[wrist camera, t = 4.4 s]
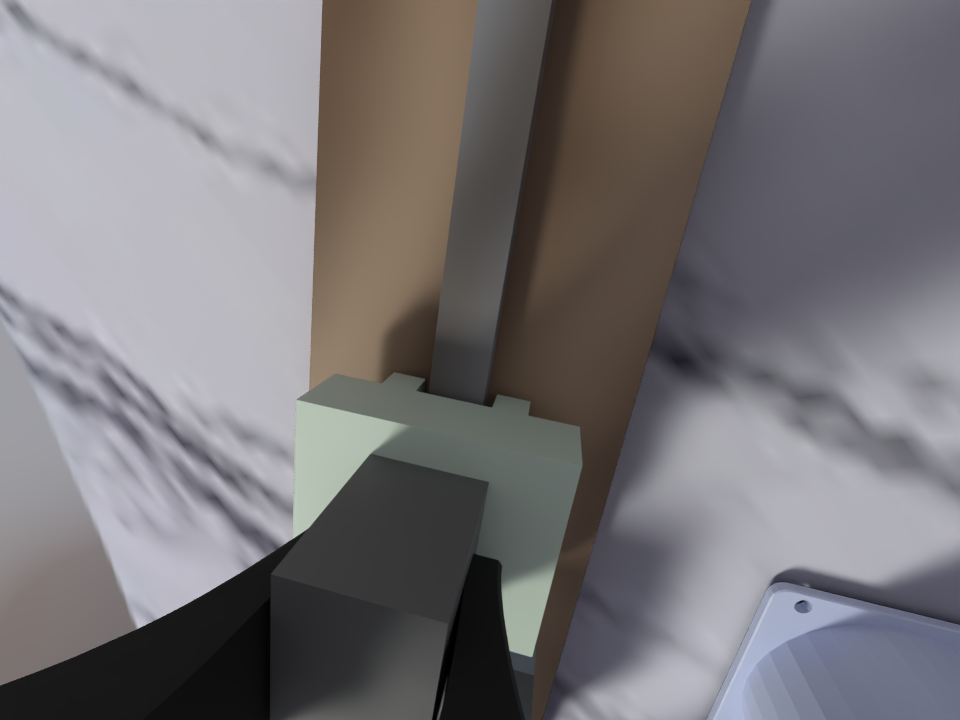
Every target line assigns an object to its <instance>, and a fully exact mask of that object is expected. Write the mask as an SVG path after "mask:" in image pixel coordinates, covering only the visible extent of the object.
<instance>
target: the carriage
mask: <svg viewBox="0 0 960 720" xmlns="http://www.w3.org/2000/svg"><path fill="white" fill-rule="evenodd" d="M425 381H426V379H423V378H419V377H414V376H409V375H405V374H400V373H395V372H394V373H393V374H392V375H391V376H389V377H388V378H387V379H386V380H385V381H384V382H383V383H382V384H381V383H377V382H372V381H368V380H363V379H358V378H354V377H349V376H345V375H340V374H336V373H335V374H334V375H332V376H331V377H329V378H328V379H326V380H325V381H323V382H322V383H320V384H319V385H317V386H316V387H314V388H313V389H311V390H310V391H308V392H307V393H305V394H304V395H302V396H301V397H300V398H298V399H297V400H296V426H295V468H294V509H293V538H295V537H296V536H298V535H299V534H301V533H302V532H304V531H305V530H307V529H308V530H307V531H306V532H305V533H304V534H303V536H302V537H301V538H300V539H299V540H298V542H297V543H296V544H295V545H294V546H293V548H292V549H291V550H290V551H289V553H288V554H287V555H286V556H285V557H284V559H283V560H282V561H281V562H280V563H279V565H278V566H277V567H276V568H275V569H274V571H273V572H272V573H271V607H270V720H437V718H438V714H439V711H440V707H441V703H442V699H443V695H444V691H445V687H446V683H447V677H448V671H449V666H450V660H451V655H452V649H453V644H454V639H455V633H456V628H457V623H458V617H459V612H460V606H461V601H462V596H463V590H464V585H465V580H466V576H467V573H468V570H469V566H470V563H471V560H472V557H473V554H477V555H481V556H485V557H488V558H492V559H496V560H499V562H500V563H501V564H502V573H501V586H502V601H503V611H504V619H505V626H506V632H507V638H508V644H509V650H510V651H512V652H515V653H519V654H522V655H526V656H529V657H532V656H533V652H534V648H535V644H536V641H537V637H538V633H539V629H540V625H541V622H542V618H543V614H544V610H545V606H546V603H547V599H548V595H549V591H550V587H551V584H552V580H553V576H554V572H555V568H556V564H557V561H558V557H559V553H560V549H561V545H562V542H563V538H564V534H565V530H566V526H567V523H568V519H569V515H570V511H571V507H572V504H573V500H574V496H575V492H576V488H577V485H578V481H579V477H580V473H581V469H582V466H583V464H582V450H581V437H580V427H579V426H574V425H569V424H565V423H560V422H556V421H551V420H547V419H542V418H537V417H533V416H528V414H529V408H530V403H531V401H526V400H522V399H517V398H512V397H508V396H503V395H498V394H497V396H496V399H495V402H494V404H493V407H492V408H491V407H487V406H482V405H478V404H473V403H469V402H464V401H459V400H455V399H450V398H446V397H441V396H436V395H432V394H427V393H424V389H425Z"/></svg>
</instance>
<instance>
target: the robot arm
mask: <svg viewBox="0 0 960 720" xmlns="http://www.w3.org/2000/svg"><path fill="white" fill-rule="evenodd" d="M307 530H308V529H307ZM307 530H305V531H304V532H302V533H301V534H299V535H298V536H296V537H295V538H293V539H292V540H290V541H289V542H287V543H286V544H284V545H283V546H281V547H280V548H279V549H277V550H276V551H274V552H272V553H271V554H269V555H268V556H266V557H265V558H263V559H262V560H260V561H258V562H257V563H255V564H254V565H252V566H251V567H249V568H248V569H246V570H244V571H243V572H241V573H240V574H238V575H236V576H235V577H233V578H231V579H230V580H228V581H226V582H224V583H223V584H221V585H219V586H218V587H216V588H214V589H213V590H211V591H209V592H207V593H206V594H204V595H202V596H201V597H199V598H197V599H195V600H193V601H192V602H190V603H188V604H186V605H184V606H182V607H180V608H179V609H177V610H175V611H173V612H171V613H169V614H167V615H165V616H163V617H161V618H159V619H157V620H155V621H153V622H151V623H149V624H147V625H145V626H143V627H141V628H139V629H137V630H135V631H132V632H130V633H128V634H126V635H123V636H121V637H119V638H117V639H114V640H112V641H110V642H108V643H105V644H103V645H101V646H99V647H96V648H94V649H92V650H89V651H87V652H85V653H83V654H80V655H78V656H76V657H74V658H71V659H69V660H66V661H64V662H61V663H58V664H56V665H53V666H51V667H48V668H46V669H43V670H41V671H38V672H36V673H33V674H30V675H28V676H25V677H22V678H20V679H17V680H14V681H11V682H9V683H6V684H3V685H1V686H0V720H269V719H270V607H271V573H272V572H273V571H274V569H275V568H276V567H277V566H278V565H279V563H280V562H281V561H282V560H283V559H284V557H285V556H286V555H287V554H288V553H289V551H290V550H291V549H292V548H293V546H294V545H295V544H296V543H297V542H298V540H299V539H300V538H301V537H302V536H303V534H304V533H305V532H306V531H307ZM501 573H502V564H501V563H500V562H499V560H496V559H492V558H488V557H485V556H481V555H477V554H473V557H472V560H471V563H470V566H469V570H468V573H467V576H466V580H465V585H464V590H463V596H462V601H461V606H460V612H459V617H458V623H457V628H456V633H455V639H454V644H453V649H452V655H451V660H450V666H449V671H448V677H447V683H446V689H445V695H444V701H443V706H442V710H441V714H440V718H439V720H525V716H524V713H523V709H522V705H521V701H520V697H519V693H518V688H517V684H516V680H515V675H514V671H513V666H512V661H511V656H510V650H509V644H508V638H507V632H506V626H505V619H504V611H503V601H502V586H501ZM801 600H805V601H804V602H802V603H799V604H797V602H798V601H801ZM707 720H960V625H958V624H954V623H950V622H946V621H942V620H938V619H934V618H930V617H925V616H921V615H917V614H913V613H909V612H905V611H901V610H897V609H893V608H889V607H885V606H881V605H877V604H873V603H869V602H864V601H860V600H856V599H852V598H848V597H844V596H840V595H836V594H832V593H828V592H824V591H820V590H816V589H812V588H808V587H803V586H799V585H795V584H791V583H786V582H779V583H775V584H773V585H771V586H769V588H768V589H767V590H766V592H765V595H764V597H763V599H762V601H761V603H760V605H759V607H758V610H757V612H756V614H755V616H754V618H753V620H752V623H751V625H750V627H749V629H748V631H747V633H746V636H745V638H744V640H743V642H742V644H741V646H740V648H739V651H738V653H737V655H736V657H735V659H734V661H733V664H732V666H731V668H730V670H729V672H728V674H727V677H726V679H725V681H724V683H723V685H722V687H721V690H720V692H719V694H718V696H717V698H716V700H715V702H714V705H713V707H712V709H711V711H710V713H709V715H708V718H707Z"/></svg>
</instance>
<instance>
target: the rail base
mask: <svg viewBox="0 0 960 720" xmlns="http://www.w3.org/2000/svg"><path fill="white" fill-rule="evenodd" d="M750 4H751V0H323V5H322V34H321V64H320V93H319V122H318V152H317V181H316V210H315V239H314V269H313V298H312V327H311V357H310V386H309V391H310V390H311V389H313V388H314V387H316V386H317V385H319V384H320V383H322V382H323V381H325V380H326V379H328V378H329V377H331V376H332V375H334V374H335V373H336V374H340V375H345V376H349V377H354V378H358V379H363V380H368V381H372V382H377V383H381V384H382V383H383V382H384V381H385V380H386V379H387V378H388V377H389V376H391V375H392V374H393V373H394V372H395V373H400V374H405V375H409V376H414V377H419V378H423V379H426V381H425V389H424V393H427V394H432V395H436V396H441V397H446V398H450V399H455V400H459V401H464V402H469V403H473V404H478V405H482V406H487V407H491V408H492V407H493V404H494V402H495V399H496V396H497V394H498V395H503V396H508V397H512V398H517V399H522V400H526V401H531V403H530V408H529V414H528V416H533V417H537V418H542V419H547V420H551V421H556V422H560V423H565V424H569V425H574V426H579V427H580V437H581V450H582V464H583V466H582V469H581V473H580V477H579V481H578V485H577V488H576V492H575V496H574V500H573V504H572V507H571V511H570V515H569V519H568V523H567V526H566V530H565V534H564V538H563V542H562V545H561V549H560V553H559V557H558V561H557V564H556V568H555V572H554V576H553V580H552V584H551V587H550V591H549V595H548V599H547V603H546V606H545V610H544V614H543V618H542V622H541V625H540V629H539V633H538V637H537V641H536V644H535V648H534V652H533V656H532V657H529V656H526V655H522V654H519V653H515V652H512V651H510V656H511V661H512V666H513V671H514V675H515V680H516V684H517V688H518V693H519V697H520V701H521V705H522V709H523V713H524V716H525V720H542V719H543V716H544V712H545V709H546V706H547V702H548V699H549V695H550V692H551V688H552V685H553V681H554V678H555V675H556V671H557V668H558V664H559V661H560V657H561V654H562V650H563V647H564V644H565V640H566V637H567V633H568V630H569V626H570V623H571V620H572V616H573V613H574V609H575V606H576V602H577V599H578V595H579V592H580V589H581V585H582V582H583V578H584V575H585V571H586V568H587V565H588V561H589V558H590V554H591V551H592V547H593V544H594V540H595V537H596V534H597V530H598V527H599V523H600V520H601V516H602V513H603V509H604V506H605V503H606V499H607V496H608V492H609V489H610V485H611V482H612V479H613V475H614V472H615V468H616V465H617V461H618V458H619V454H620V451H621V448H622V444H623V441H624V437H625V434H626V430H627V427H628V423H629V420H630V417H631V413H632V410H633V406H634V403H635V399H636V396H637V393H638V389H639V386H640V382H641V379H642V375H643V372H644V368H645V365H646V362H647V358H648V355H649V351H650V348H651V344H652V341H653V337H654V334H655V331H656V327H657V324H658V320H659V317H660V313H661V310H662V307H663V303H664V300H665V296H666V293H667V289H668V286H669V282H670V279H671V276H672V272H673V269H674V265H675V262H676V258H677V255H678V251H679V248H680V245H681V241H682V238H683V234H684V231H685V227H686V224H687V221H688V217H689V214H690V210H691V207H692V203H693V200H694V196H695V193H696V190H697V186H698V183H699V179H700V176H701V172H702V169H703V165H704V162H705V159H706V155H707V152H708V148H709V145H710V141H711V138H712V135H713V131H714V128H715V124H716V121H717V117H718V114H719V110H720V107H721V104H722V100H723V97H724V93H725V90H726V86H727V83H728V79H729V76H730V73H731V69H732V66H733V62H734V59H735V55H736V52H737V49H738V45H739V42H740V38H741V35H742V31H743V28H744V24H745V21H746V18H747V14H748V11H749V7H750ZM445 689H446V687H445ZM444 695H445V691H444ZM444 695H443V699H442V703H441V707H440V711H439V714H438V718H437V720H439V718H440V714H441V710H442V706H443V701H444ZM269 720H270V719H269Z"/></svg>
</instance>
